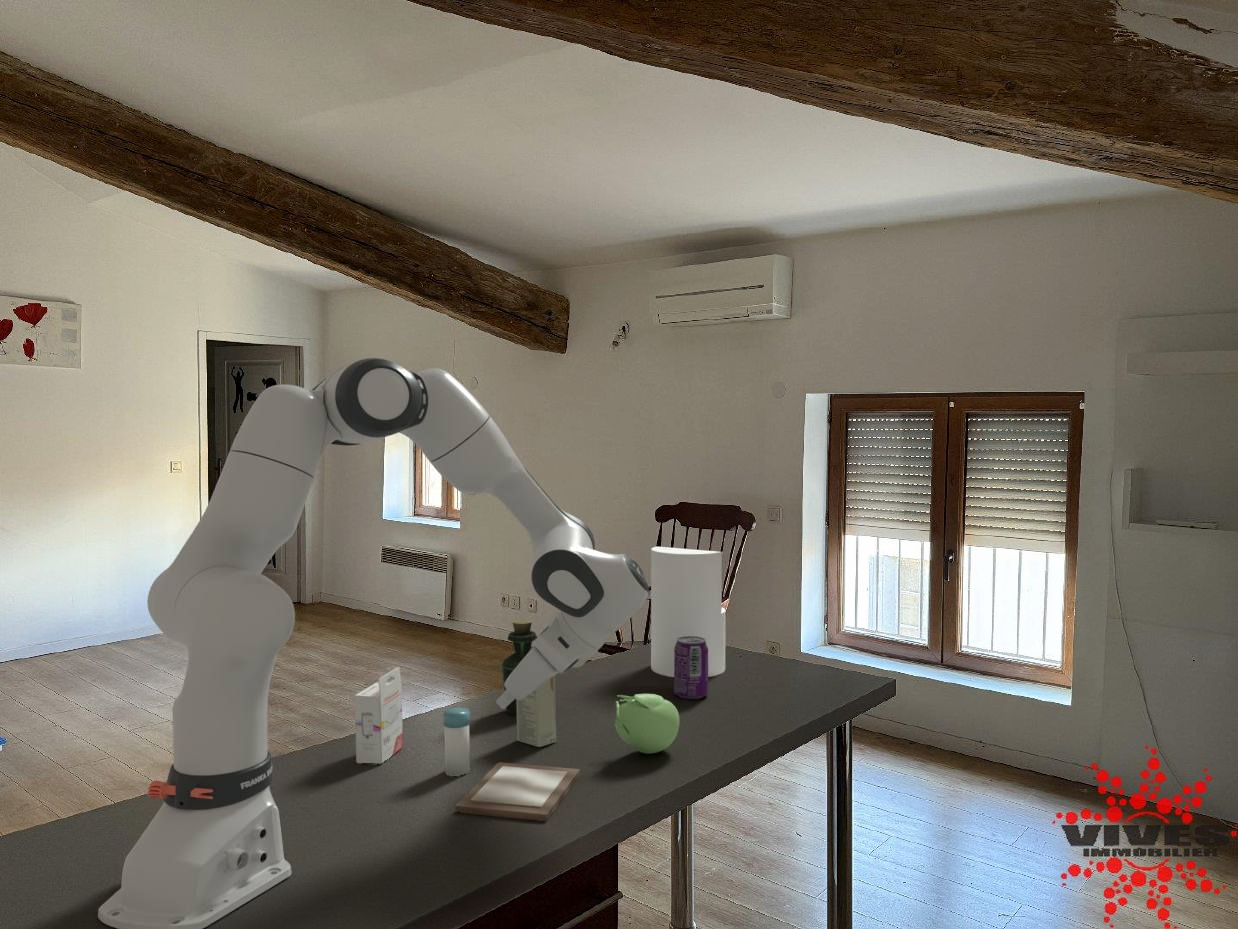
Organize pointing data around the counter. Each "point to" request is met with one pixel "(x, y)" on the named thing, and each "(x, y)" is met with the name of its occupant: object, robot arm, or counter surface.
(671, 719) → the green eggplant
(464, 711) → the white bottle teal cap
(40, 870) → the counter surface
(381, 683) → the ink cartridge box
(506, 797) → the writing board
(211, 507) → the robot arm
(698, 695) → the beverage can
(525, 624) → the potion bottle
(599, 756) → the counter surface
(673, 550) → the cylinder
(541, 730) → the skincare box
